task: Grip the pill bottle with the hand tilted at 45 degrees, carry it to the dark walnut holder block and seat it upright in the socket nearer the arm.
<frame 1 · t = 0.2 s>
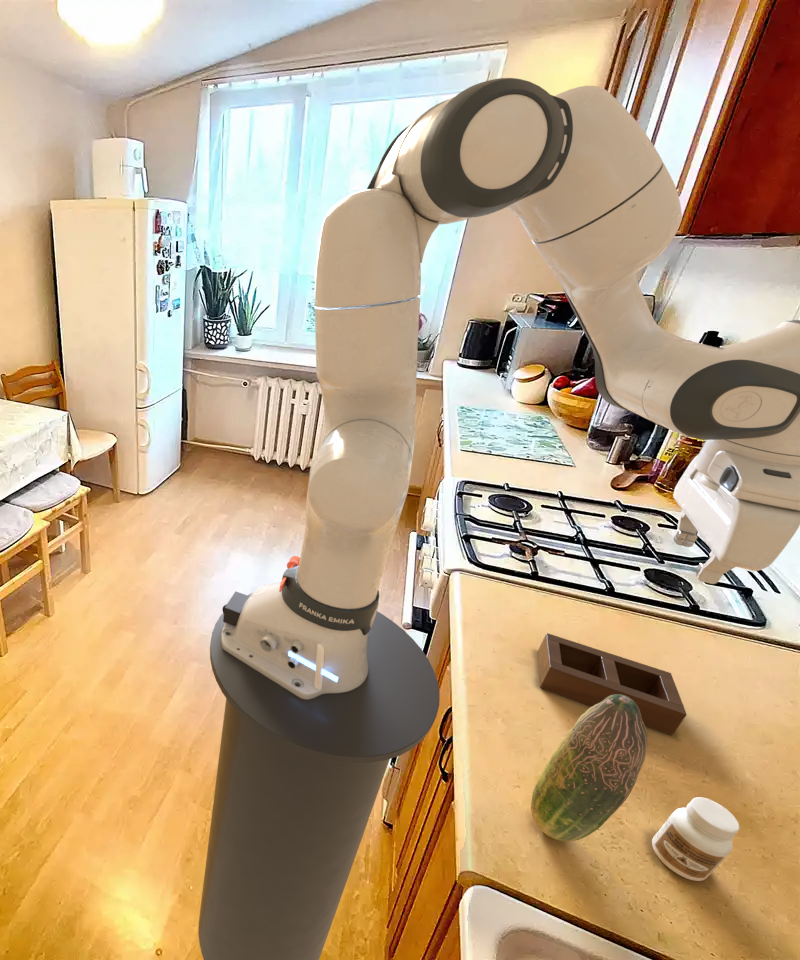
hand: (692, 560, 67), 20 cm above the worktop, tool pointing down, fingers open, 8 cm apart
vegetable: (553, 827, 57), on the worktop
holder: (598, 690, 74), on the worktop
pill bottle: (676, 859, 54), on the worktop
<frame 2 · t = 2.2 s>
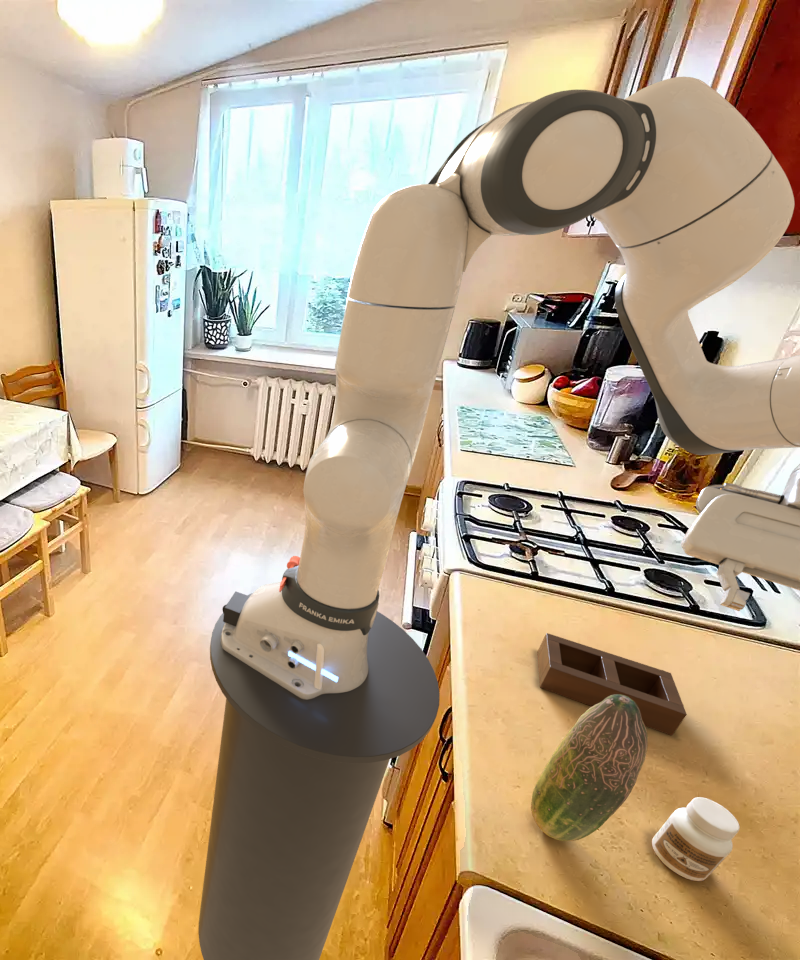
hand: (797, 630, 51), 23 cm above the worktop, tool tilted 45°, fingers open, 8 cm apart
nothing on the worktop moved.
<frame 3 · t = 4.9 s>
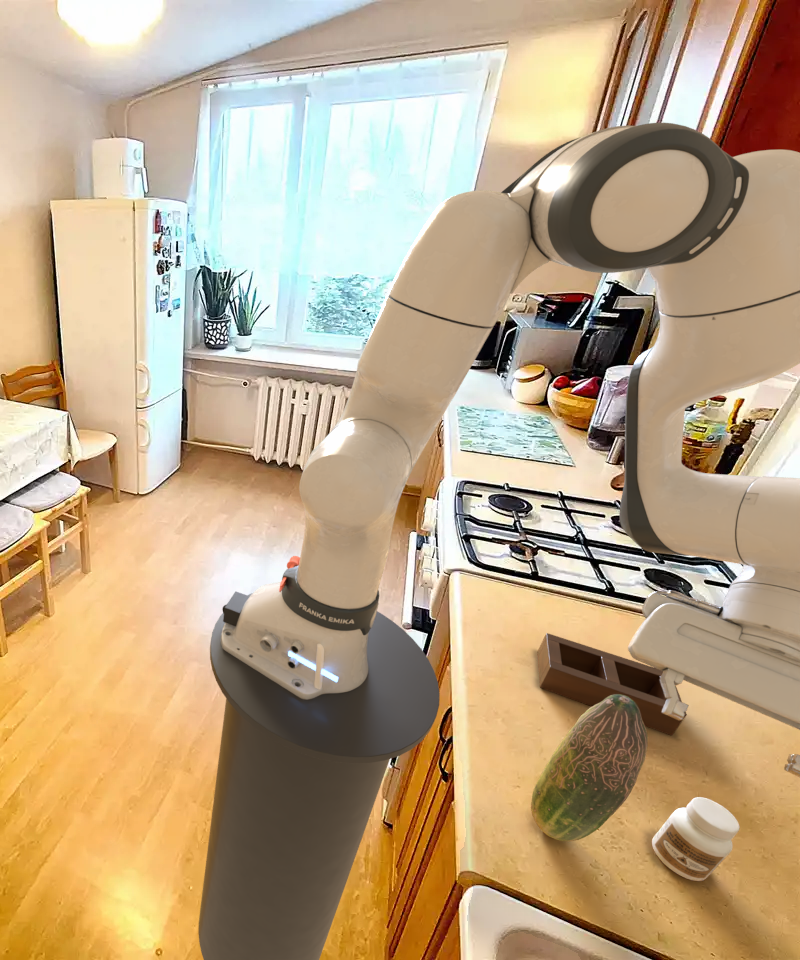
hand: (731, 744, 54), 11 cm above the worktop, tool tilted 45°, fingers open, 8 cm apart
nothing on the worktop moved.
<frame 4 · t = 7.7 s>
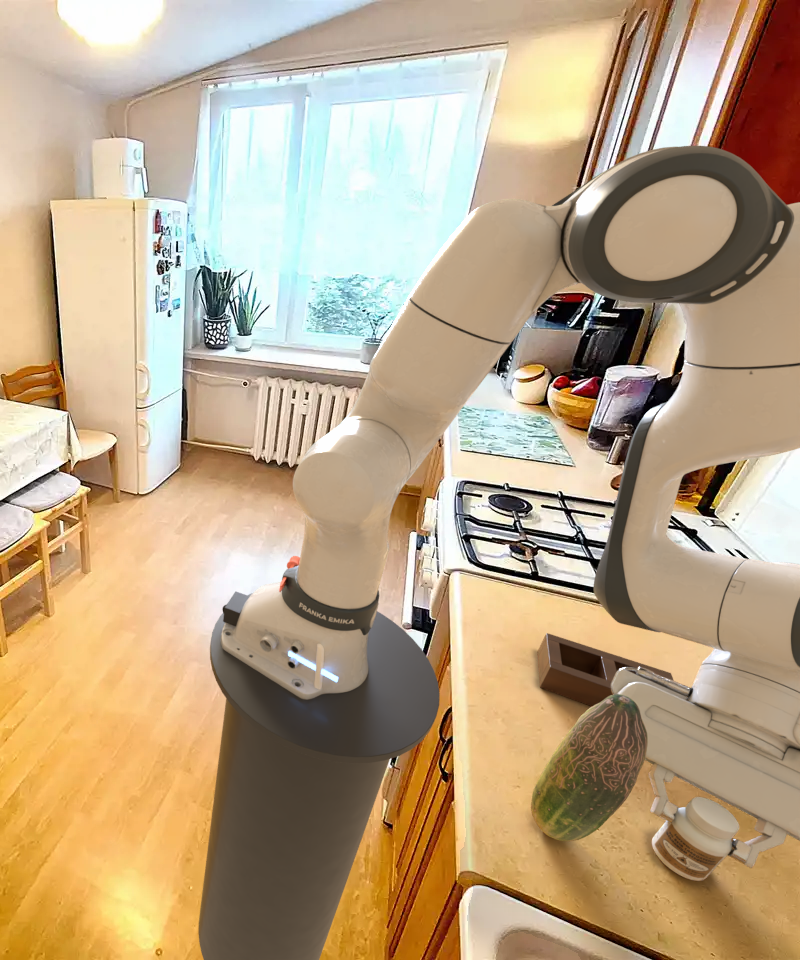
hand: (698, 839, 52), 4 cm above the worktop, tool tilted 45°, fingers closed on pill bottle, 4 cm apart
pill bottle: (676, 859, 54), on the worktop, touching gripper
everything else where it was.
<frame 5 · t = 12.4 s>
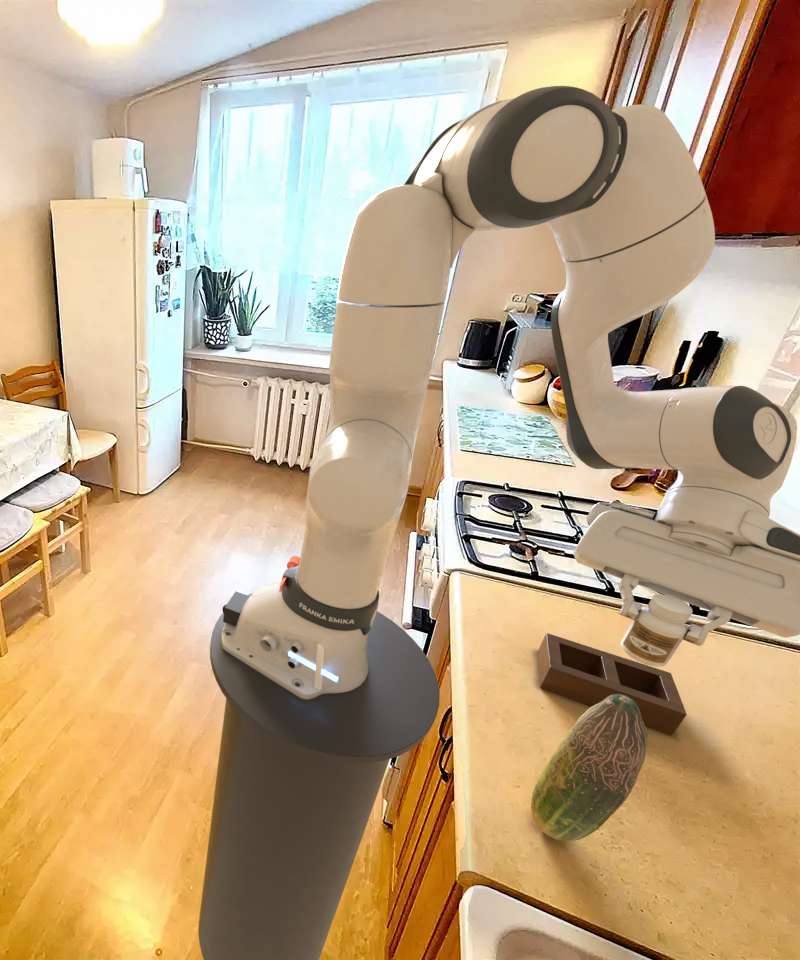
hand: (659, 629, 60), 17 cm above the worktop, tool tilted 45°, fingers closed on pill bottle, 4 cm apart
pill bottle: (641, 655, 62), point 13 cm above the worktop, touching gripper
everything else where it was.
when the fingers open (5 cm above the worktop, at t = 17.2 s): pill bottle stays where it is, resting in holder.
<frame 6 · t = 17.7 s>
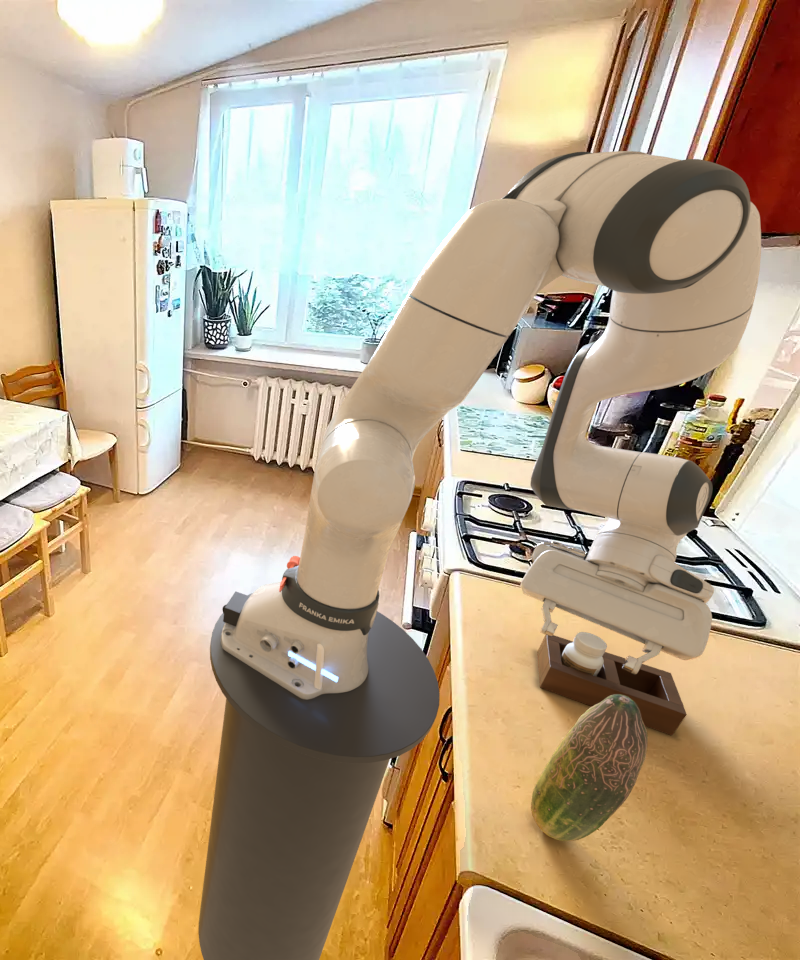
hand: (585, 652, 72), 6 cm above the worktop, tool tilted 45°, fingers open, 8 cm apart
pill bottle: (569, 681, 75), resting in holder
everything else where it was.
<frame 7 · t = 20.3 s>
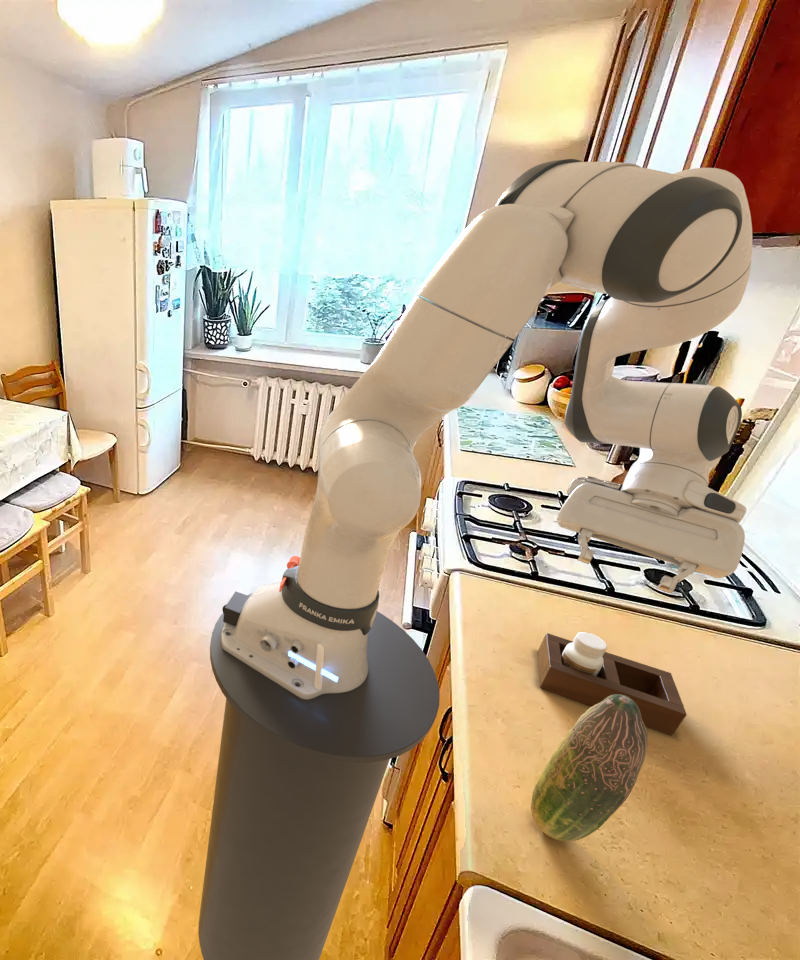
hand: (622, 575, 76), 13 cm above the worktop, tool tilted 45°, fingers open, 8 cm apart
nothing on the worktop moved.
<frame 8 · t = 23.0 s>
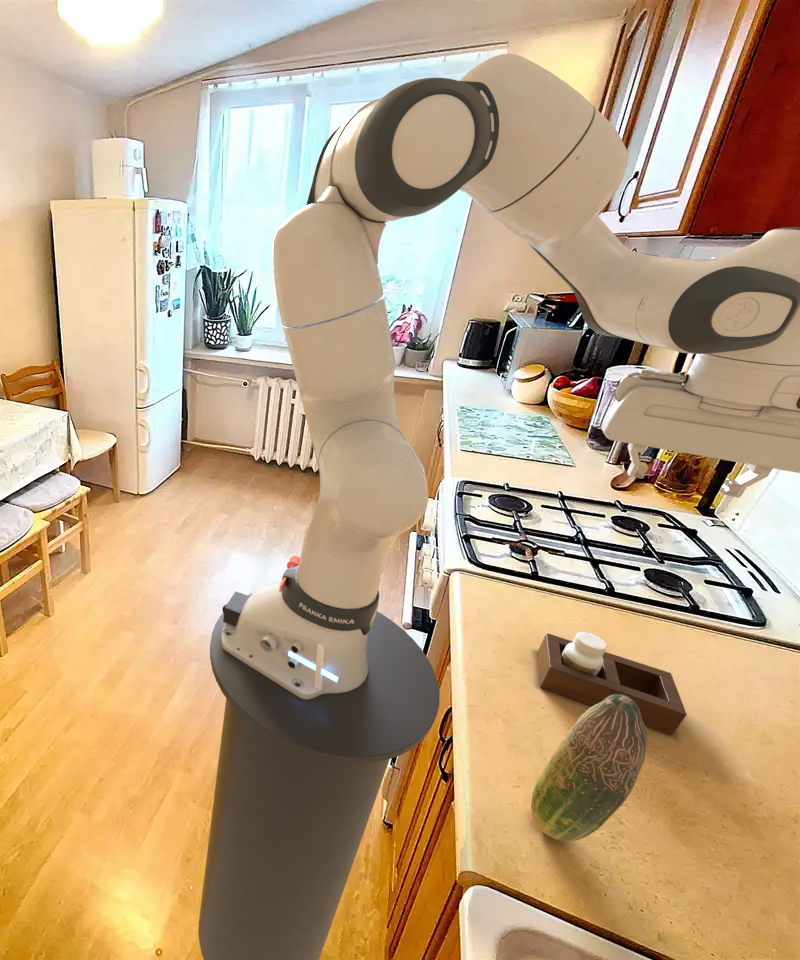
hand: (680, 484, 67), 29 cm above the worktop, tool pointing down, fingers open, 8 cm apart
nothing on the worktop moved.
at the end: pill bottle 0.0 cm from the target spot in the holder, point 0.0 cm above the holder's base; pill bottle tilted 0°; the gripper is holding nothing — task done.
